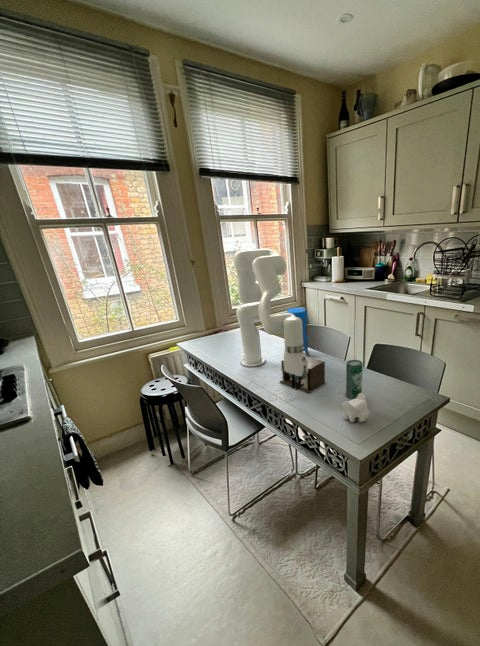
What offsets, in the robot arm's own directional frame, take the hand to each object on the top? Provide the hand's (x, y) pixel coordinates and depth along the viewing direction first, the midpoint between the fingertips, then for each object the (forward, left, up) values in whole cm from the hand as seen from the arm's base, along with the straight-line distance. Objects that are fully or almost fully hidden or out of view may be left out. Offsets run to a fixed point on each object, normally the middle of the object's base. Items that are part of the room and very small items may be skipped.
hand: (296, 387), depth 135 cm
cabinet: (-5, +11, -3) cm, 12 cm away
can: (+20, +14, -3) cm, 25 cm away
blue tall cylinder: (-31, +38, -3) cm, 49 cm away
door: (-2, +2, -2) cm, 4 cm away
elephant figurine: (+30, -1, -3) cm, 30 cm away
